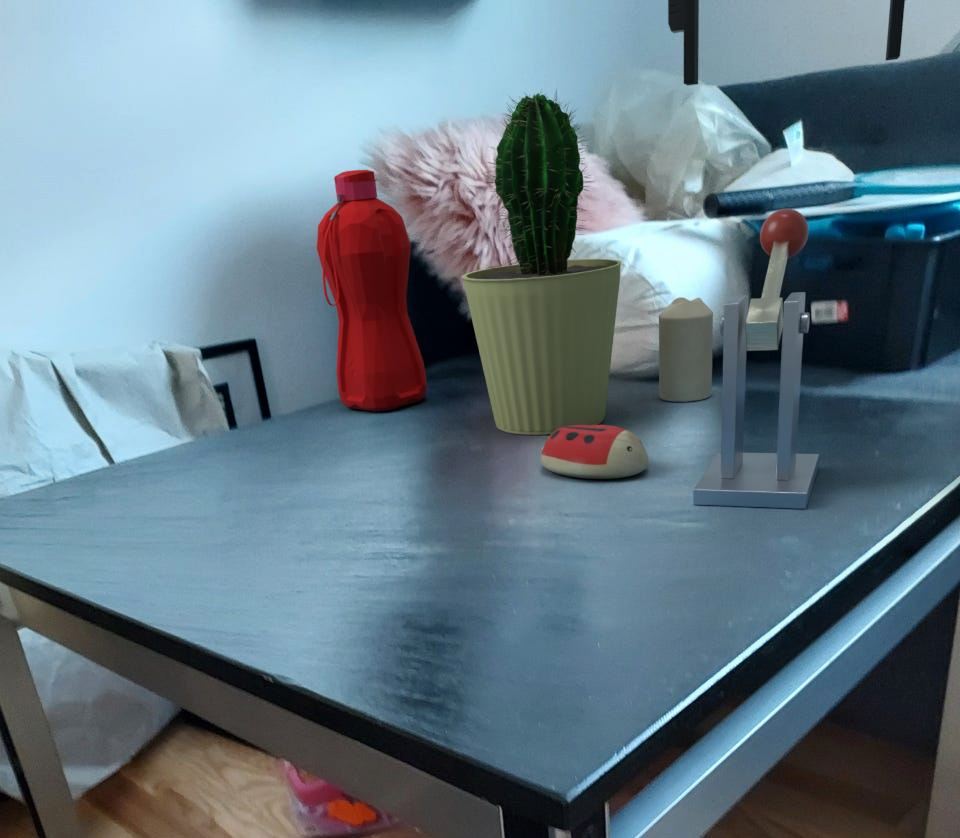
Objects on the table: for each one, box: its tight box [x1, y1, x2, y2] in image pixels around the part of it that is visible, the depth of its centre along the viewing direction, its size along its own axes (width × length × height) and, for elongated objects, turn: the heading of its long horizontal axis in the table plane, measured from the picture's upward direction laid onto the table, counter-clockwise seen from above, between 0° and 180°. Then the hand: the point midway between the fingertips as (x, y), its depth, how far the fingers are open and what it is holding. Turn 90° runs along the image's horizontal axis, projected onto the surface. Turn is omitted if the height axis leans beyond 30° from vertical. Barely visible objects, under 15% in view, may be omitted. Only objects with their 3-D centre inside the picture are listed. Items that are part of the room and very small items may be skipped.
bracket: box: [692, 291, 820, 510], centre depth 70 cm, size 10×8×14 cm
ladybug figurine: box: [540, 424, 650, 480], centre depth 80 cm, size 7×10×4 cm
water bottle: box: [316, 169, 428, 413], centre depth 107 cm, size 9×11×25 cm
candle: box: [658, 297, 714, 403], centre depth 100 cm, size 6×6×10 cm
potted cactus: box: [461, 88, 622, 436], centre depth 92 cm, size 15×15×30 cm
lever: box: [745, 208, 810, 352], centre depth 71 cm, size 14×4×4 cm, turn 157°
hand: (788, 72), depth 67 cm, fingers open, 13 cm apart
